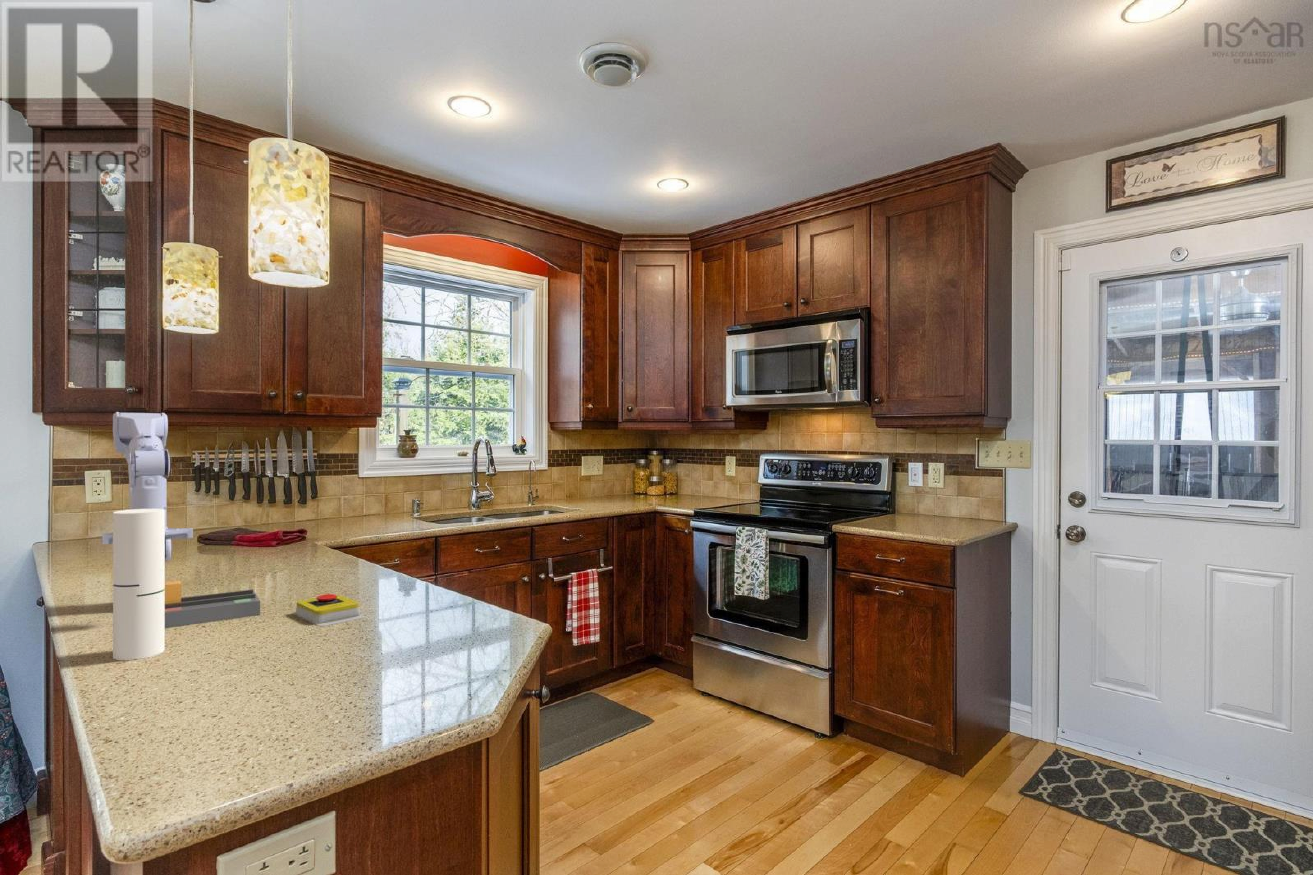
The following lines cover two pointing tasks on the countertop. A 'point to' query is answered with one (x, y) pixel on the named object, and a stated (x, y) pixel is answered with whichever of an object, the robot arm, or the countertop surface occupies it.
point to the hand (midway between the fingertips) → (149, 576)
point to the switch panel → (212, 608)
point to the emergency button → (328, 610)
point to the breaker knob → (172, 592)
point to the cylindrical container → (138, 583)
